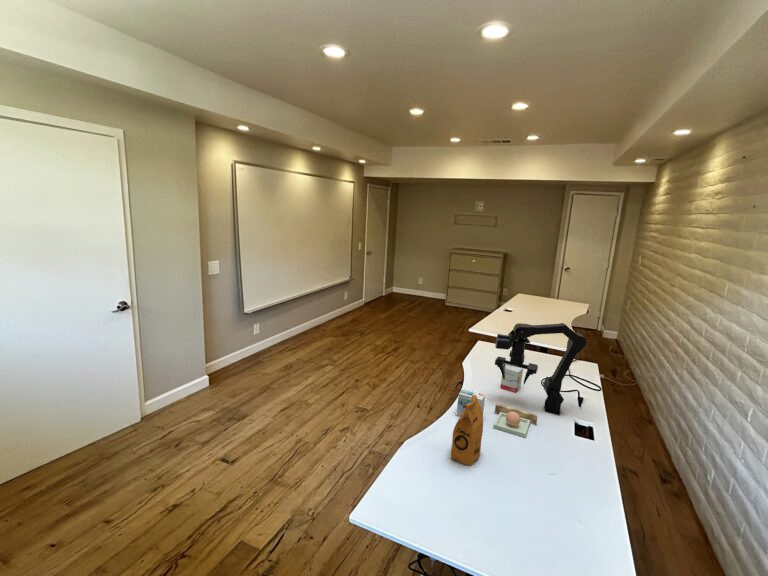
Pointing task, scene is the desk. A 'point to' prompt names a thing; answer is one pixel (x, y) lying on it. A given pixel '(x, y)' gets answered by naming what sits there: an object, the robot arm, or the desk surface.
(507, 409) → the oak rail
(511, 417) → the ball
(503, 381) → the ink box
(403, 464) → the desk surface
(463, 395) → the light bulb box
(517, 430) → the sage tray
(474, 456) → the coffee package
